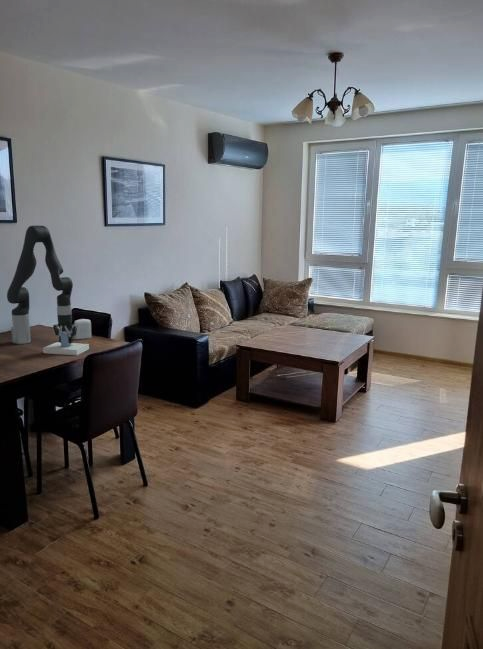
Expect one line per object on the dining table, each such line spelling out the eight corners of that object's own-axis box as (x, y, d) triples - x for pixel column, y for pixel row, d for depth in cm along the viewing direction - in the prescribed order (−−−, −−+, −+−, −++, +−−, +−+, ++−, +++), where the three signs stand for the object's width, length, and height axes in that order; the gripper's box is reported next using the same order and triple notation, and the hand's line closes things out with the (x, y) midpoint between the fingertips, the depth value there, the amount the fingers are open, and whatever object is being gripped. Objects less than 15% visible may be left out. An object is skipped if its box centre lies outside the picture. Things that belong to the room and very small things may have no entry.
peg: (61, 349, 268) (60, 334, 266) (65, 348, 272) (64, 332, 270) (68, 350, 267) (67, 334, 266) (71, 348, 271) (70, 333, 270)
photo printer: (90, 336, 306) (89, 317, 303) (92, 338, 302) (91, 319, 300) (73, 338, 300) (72, 319, 297) (75, 340, 296) (74, 320, 294)
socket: (43, 353, 265) (43, 347, 264) (56, 347, 278) (56, 342, 278) (76, 355, 262) (76, 349, 261) (89, 349, 275) (88, 344, 275)
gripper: (48, 313, 263) (50, 343, 267) (73, 315, 261) (74, 345, 264) (56, 311, 270) (58, 340, 274) (79, 312, 268) (81, 342, 272)
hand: (66, 342), depth 269 cm, fingers open, 4 cm apart
